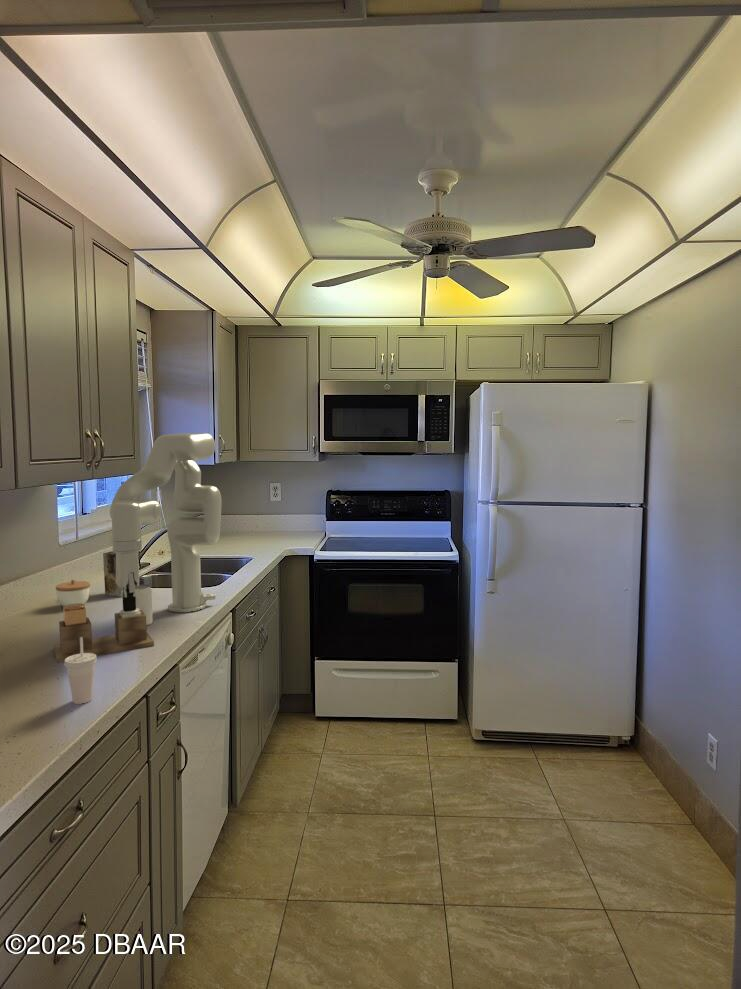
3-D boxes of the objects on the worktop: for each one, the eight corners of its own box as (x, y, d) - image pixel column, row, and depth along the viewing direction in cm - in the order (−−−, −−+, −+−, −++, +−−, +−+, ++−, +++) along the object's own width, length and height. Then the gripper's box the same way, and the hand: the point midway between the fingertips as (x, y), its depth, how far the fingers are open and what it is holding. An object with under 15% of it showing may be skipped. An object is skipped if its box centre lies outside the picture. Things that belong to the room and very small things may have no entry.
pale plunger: (138, 632, 170) (137, 606, 169) (142, 637, 166) (141, 610, 165) (120, 635, 167) (119, 609, 167) (123, 640, 163) (122, 613, 162)
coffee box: (135, 593, 223) (133, 551, 221) (120, 597, 217) (119, 554, 216) (118, 591, 227) (116, 549, 225) (104, 594, 221) (102, 552, 220)
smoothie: (104, 694, 131) (101, 633, 130) (88, 707, 125) (85, 643, 124) (76, 694, 132) (73, 633, 131) (59, 706, 126) (56, 643, 124)
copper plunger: (84, 629, 162) (83, 602, 162) (86, 634, 158) (85, 606, 157) (64, 632, 160) (63, 605, 159) (66, 637, 155) (64, 609, 155)
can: (145, 619, 189) (144, 583, 188) (156, 623, 185) (155, 586, 184) (126, 624, 184) (125, 586, 183) (137, 628, 180) (135, 590, 179)
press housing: (145, 633, 174) (144, 606, 174) (154, 645, 164) (153, 616, 163) (54, 648, 162) (52, 619, 161) (57, 662, 151) (55, 631, 151)
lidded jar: (95, 606, 205) (93, 580, 204) (61, 612, 198) (60, 585, 197) (85, 600, 213) (84, 575, 212) (53, 606, 206) (51, 579, 205)
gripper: (108, 543, 169) (111, 606, 170) (117, 551, 156) (119, 618, 157) (136, 541, 173) (138, 602, 174) (146, 548, 160) (148, 614, 161)
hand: (129, 610), depth 166 cm, fingers closed
